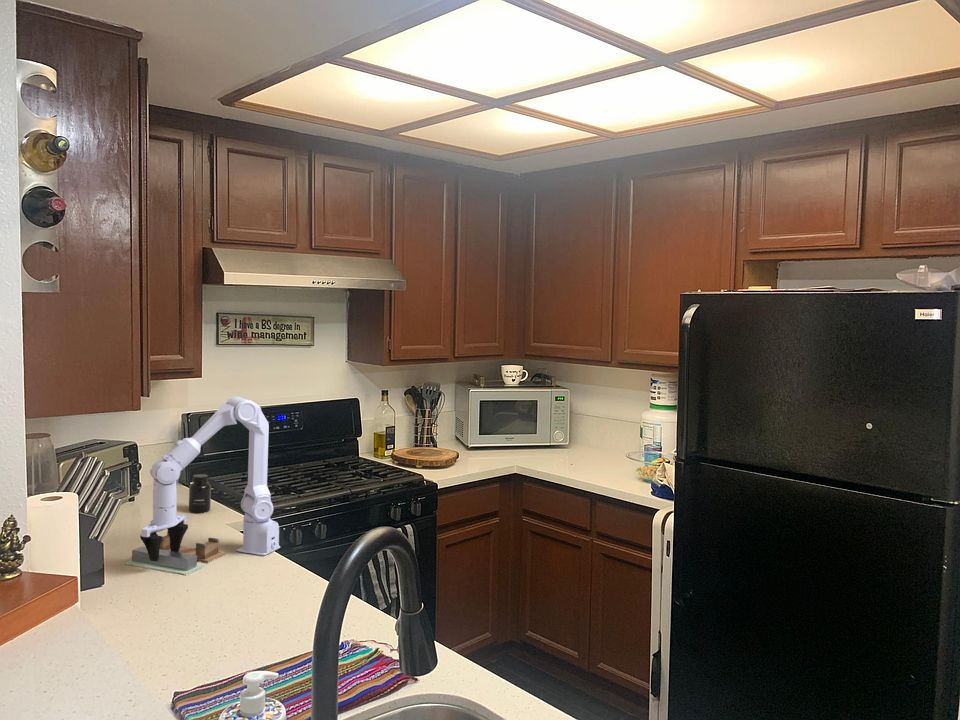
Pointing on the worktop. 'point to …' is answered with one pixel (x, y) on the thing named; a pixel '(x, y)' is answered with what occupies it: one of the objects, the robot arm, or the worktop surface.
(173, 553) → the steel rail
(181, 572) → the rubber mat
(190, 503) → the supplement bottle
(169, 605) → the worktop surface
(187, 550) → the wooden stand
